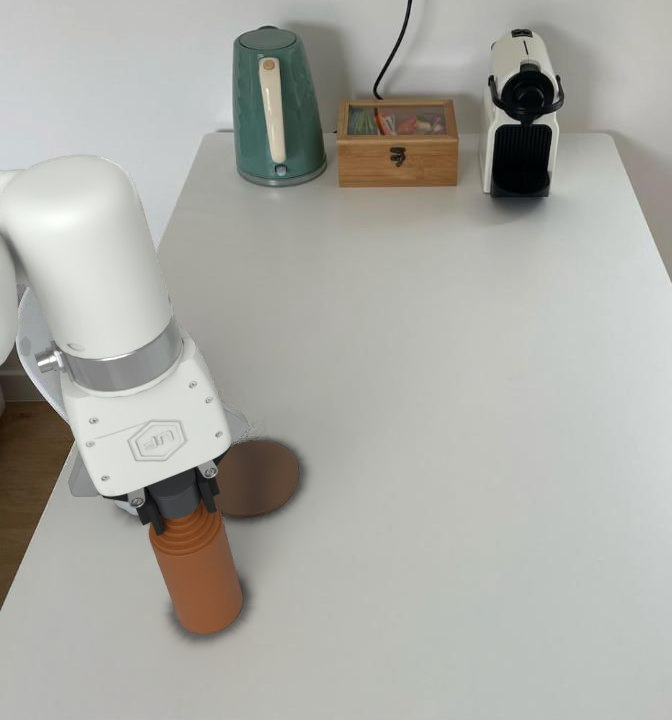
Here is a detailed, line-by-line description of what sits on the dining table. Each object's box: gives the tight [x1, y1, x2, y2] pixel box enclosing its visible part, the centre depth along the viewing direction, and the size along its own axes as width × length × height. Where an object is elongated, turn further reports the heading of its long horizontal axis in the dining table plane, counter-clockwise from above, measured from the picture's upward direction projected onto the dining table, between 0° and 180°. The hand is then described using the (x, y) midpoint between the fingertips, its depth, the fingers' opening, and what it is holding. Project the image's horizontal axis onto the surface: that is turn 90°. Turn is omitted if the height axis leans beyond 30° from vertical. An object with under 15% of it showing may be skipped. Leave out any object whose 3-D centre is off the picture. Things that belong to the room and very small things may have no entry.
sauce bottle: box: [148, 498, 243, 635], centre depth 69 cm, size 6×6×18 cm
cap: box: [147, 468, 201, 519], centre depth 64 cm, size 4×4×3 cm
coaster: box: [213, 439, 300, 519], centre depth 86 cm, size 10×10×1 cm
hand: (182, 509), depth 66 cm, fingers closed on cap, 3 cm apart
